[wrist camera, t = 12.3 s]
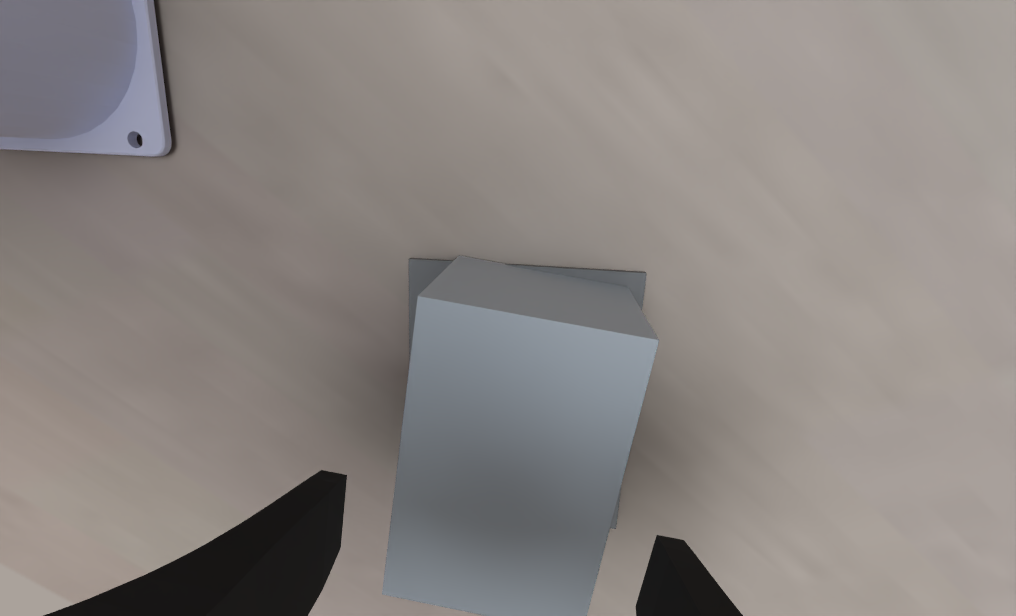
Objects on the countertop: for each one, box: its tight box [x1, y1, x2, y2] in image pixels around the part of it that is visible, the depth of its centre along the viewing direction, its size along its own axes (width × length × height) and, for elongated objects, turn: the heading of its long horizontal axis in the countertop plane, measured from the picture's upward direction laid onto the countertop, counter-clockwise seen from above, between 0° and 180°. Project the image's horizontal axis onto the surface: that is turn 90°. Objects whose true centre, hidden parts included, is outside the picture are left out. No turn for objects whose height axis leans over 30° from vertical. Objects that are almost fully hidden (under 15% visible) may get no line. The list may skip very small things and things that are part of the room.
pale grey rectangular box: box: [382, 255, 659, 616], centre depth 16 cm, size 6×9×6 cm, turn 170°
